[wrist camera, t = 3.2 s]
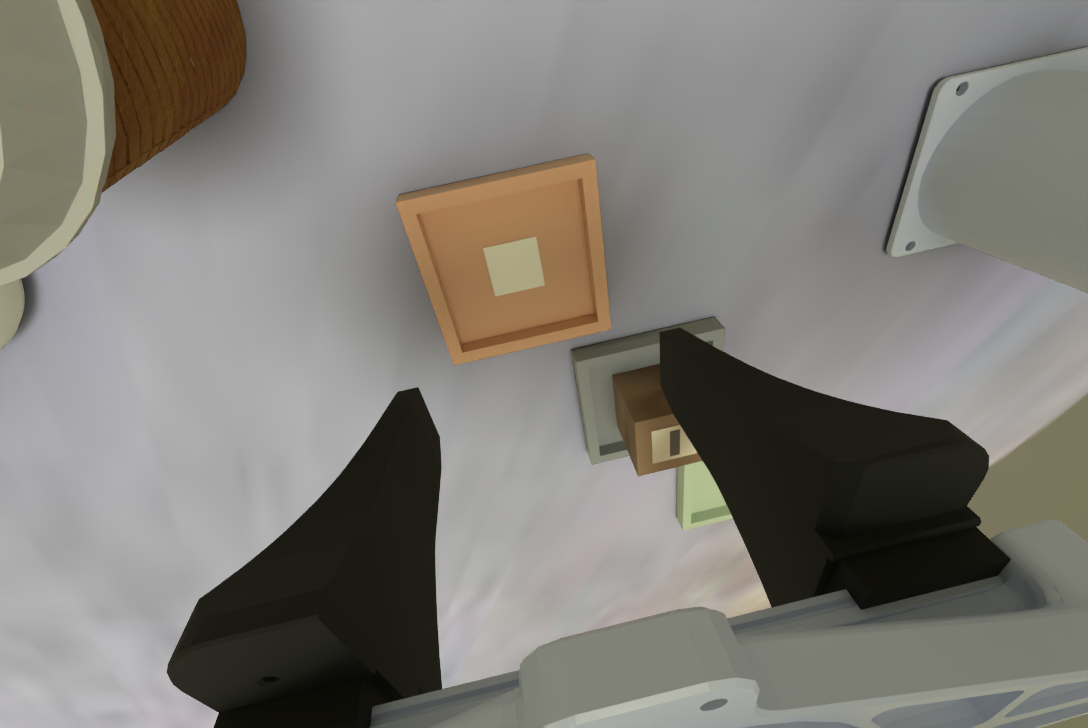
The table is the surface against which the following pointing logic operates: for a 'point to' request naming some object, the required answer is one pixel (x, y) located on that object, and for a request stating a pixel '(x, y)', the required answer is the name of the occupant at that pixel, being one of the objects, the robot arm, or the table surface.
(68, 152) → the disposable coffee cup
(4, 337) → the vodka
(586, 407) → the slate dish
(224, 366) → the table surface
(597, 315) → the terracotta dish
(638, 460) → the letter cube
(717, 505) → the sage dish
